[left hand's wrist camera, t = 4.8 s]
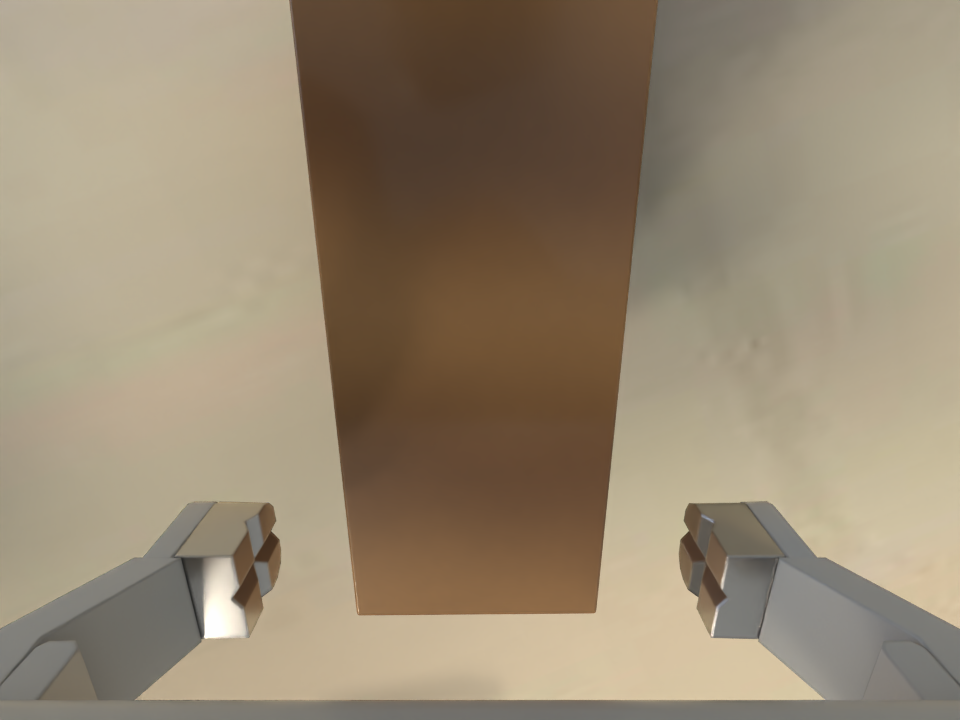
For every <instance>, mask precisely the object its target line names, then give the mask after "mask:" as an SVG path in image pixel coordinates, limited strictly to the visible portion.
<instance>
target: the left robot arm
mask: <svg viewBox="0 0 960 720" xmlns="http://www.w3.org/2000/svg"><path fill="white" fill-rule="evenodd" d="M275 522H276V517H275V512H274V507H273V506H272V505H271V504H270V503H258V502H192V503H189V504H187V505H186V506H185V508H184V509H183V510H182V511H181V512H180V514H179V515H178V516H177V517H176V518H175V520H174V521H173V522H172V523H171V524H170V526H169V527H168V528H167V529H166V530H165V532H164V533H163V534H162V535H161V536H160V538H159V539H158V540H157V541H156V542H155V544H154V545H153V546H152V547H151V548H150V550H149V551H148V552H147V553H146V554H145V555H144V557H143V558H133V559H131V560H129V561H127V562H125V563H123V564H122V565H120V566H118V567H116V568H114V569H112V570H110V571H108V572H106V573H105V574H103V575H101V576H99V577H97V578H95V579H93V580H91V581H89V582H88V583H86V584H84V585H82V586H80V587H78V588H76V589H74V590H72V591H71V592H69V593H67V594H65V595H63V596H61V597H59V598H57V599H55V600H54V601H52V602H50V603H48V604H46V605H44V606H42V607H40V608H38V609H37V610H35V611H33V612H31V613H29V614H27V615H25V616H23V617H22V618H20V619H18V620H16V621H14V622H12V623H10V624H8V625H6V626H5V627H3V628H1V629H0V720H960V629H959V628H957V627H955V626H953V625H951V624H949V623H948V622H946V621H944V620H942V619H940V618H938V617H936V616H934V615H933V614H931V613H929V612H927V611H925V610H923V609H921V608H919V607H917V606H916V605H914V604H912V603H910V602H908V601H906V600H904V599H902V598H901V597H899V596H897V595H895V594H893V593H891V592H889V591H887V590H885V589H884V588H882V587H880V586H878V585H876V584H874V583H872V582H870V581H869V580H867V579H865V578H863V577H861V576H859V575H857V574H855V573H853V572H852V571H850V570H848V569H846V568H844V567H842V566H840V565H838V564H837V563H835V562H833V561H831V560H829V559H827V558H817V557H816V556H815V554H814V553H813V552H812V551H811V550H810V548H809V547H808V546H807V545H806V544H805V542H804V541H803V540H802V539H801V538H800V536H799V535H798V534H797V533H796V532H795V530H794V529H793V528H792V527H791V526H790V524H789V523H788V522H787V521H786V520H785V519H784V517H783V516H782V515H781V514H780V513H779V511H778V510H777V509H776V508H775V507H774V505H773V504H771V503H769V502H767V501H758V502H740V503H689V504H688V506H687V508H686V511H685V516H684V522H685V524H686V526H687V528H688V530H689V532H688V533H687V534H686V535H685V536H684V537H683V538H682V539H681V540H680V548H679V562H680V570H681V573H682V577H683V580H684V582H685V584H686V587H687V589H688V590H689V591H691V592H692V593H693V594H695V595H696V596H697V597H699V598H698V603H697V610H698V612H699V614H700V616H701V618H702V620H703V622H704V625H705V627H706V629H707V631H708V633H709V635H710V637H711V638H739V639H759V640H758V641H759V642H760V643H761V644H762V645H763V646H764V647H765V648H767V649H768V650H769V651H770V652H771V653H772V654H773V655H775V656H776V657H777V658H778V659H779V660H780V661H782V662H783V663H784V664H785V665H786V666H787V667H788V668H790V669H791V670H792V671H793V672H794V673H795V674H796V675H798V676H799V677H800V678H801V679H802V680H803V681H804V682H806V683H807V684H808V685H809V686H810V687H811V688H813V689H814V690H815V691H816V692H817V693H818V694H819V695H821V696H822V697H823V698H824V699H825V700H135V699H136V698H137V697H138V696H140V695H141V694H142V693H143V692H144V691H145V690H146V689H148V688H149V687H150V686H151V685H152V684H153V683H155V682H156V681H157V680H158V679H159V678H160V677H161V676H163V675H164V674H165V673H166V672H167V671H168V670H170V669H171V668H172V667H173V666H174V665H175V664H176V663H178V662H179V661H180V660H181V659H182V658H183V657H184V656H186V655H187V654H188V653H189V652H190V651H191V650H193V649H194V648H195V647H196V646H197V645H198V644H199V643H201V639H220V638H249V637H250V635H251V633H252V631H253V629H254V627H255V625H256V623H257V620H258V618H259V616H260V614H261V612H262V610H263V603H262V598H261V597H263V596H264V595H265V594H267V593H268V592H269V591H271V590H272V589H273V587H274V584H275V582H276V580H277V578H278V573H279V568H280V564H281V547H280V540H279V539H278V538H277V537H276V536H275V535H274V534H273V533H272V532H271V530H272V528H273V526H274V524H275Z"/></svg>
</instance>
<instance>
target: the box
mask: <svg viewBox="0 0 960 720" xmlns="http://www.w3.org/2000/svg"><path fill="white" fill-rule="evenodd" d="M289 2H290V11H291V20H292V29H293V38H294V47H295V56H296V65H297V74H298V83H299V92H300V101H301V110H302V119H303V128H304V137H305V147H306V156H307V165H308V174H309V183H310V192H311V201H312V210H313V219H314V228H315V237H316V246H317V255H318V264H319V273H320V282H321V291H322V300H323V309H324V318H325V328H326V337H327V346H328V355H329V364H330V373H331V382H332V391H333V400H334V409H335V418H336V427H337V436H338V445H339V454H340V463H341V472H342V481H343V490H344V500H345V509H346V518H347V527H348V536H349V545H350V554H351V563H352V572H353V581H354V590H355V599H356V608H357V614H358V615H444V614H563V613H595V612H596V607H597V597H598V588H599V578H600V568H601V558H602V548H603V538H604V528H605V518H606V509H607V499H608V489H609V479H610V469H611V459H612V449H613V440H614V430H615V420H616V410H617V400H618V390H619V380H620V371H621V361H622V351H623V341H624V331H625V321H626V311H627V301H628V292H629V282H630V272H631V262H632V252H633V242H634V232H635V223H636V213H637V203H638V193H639V183H640V173H641V163H642V154H643V144H644V134H645V124H646V114H647V104H648V94H649V84H650V75H651V65H652V55H653V45H654V35H655V25H656V15H657V6H658V0H289Z"/></svg>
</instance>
